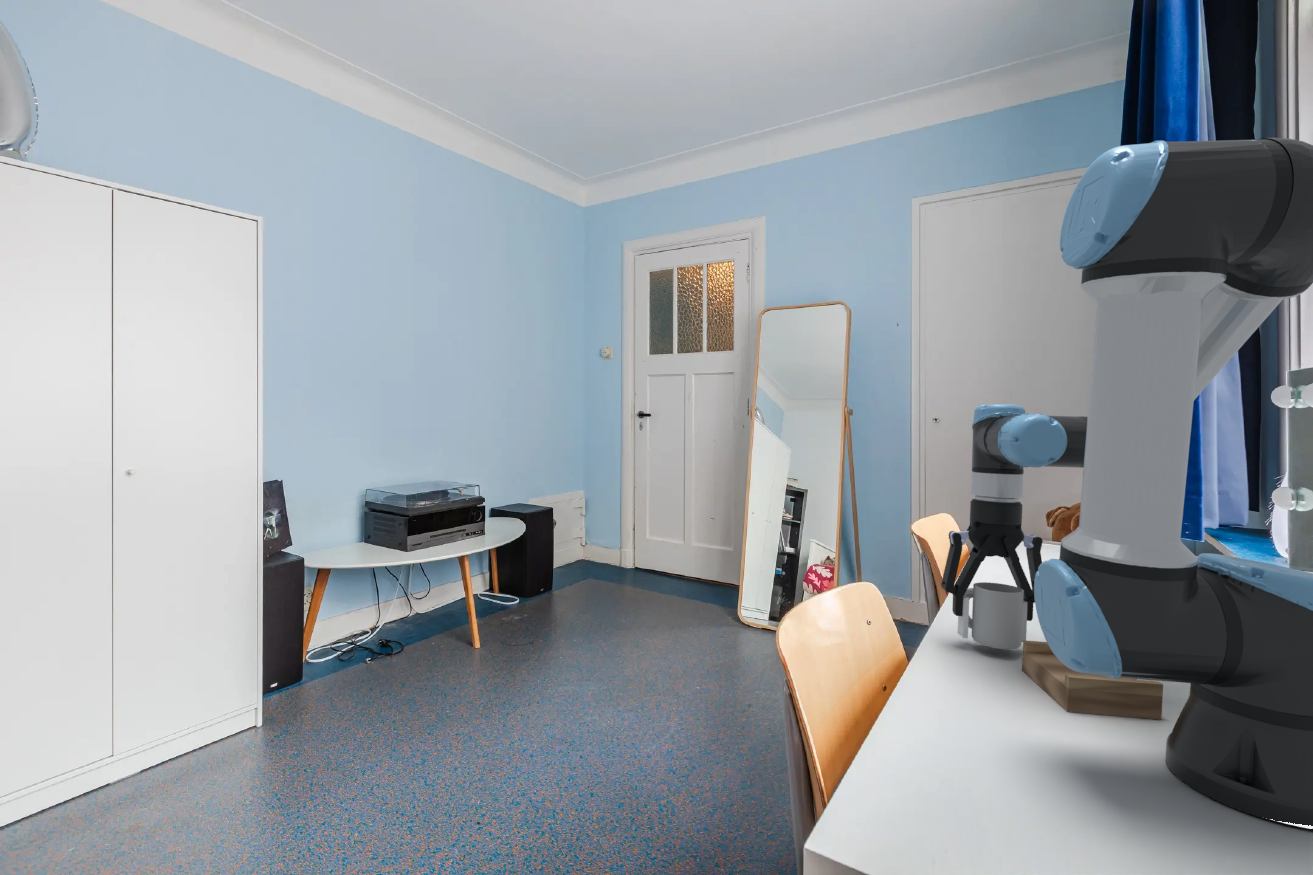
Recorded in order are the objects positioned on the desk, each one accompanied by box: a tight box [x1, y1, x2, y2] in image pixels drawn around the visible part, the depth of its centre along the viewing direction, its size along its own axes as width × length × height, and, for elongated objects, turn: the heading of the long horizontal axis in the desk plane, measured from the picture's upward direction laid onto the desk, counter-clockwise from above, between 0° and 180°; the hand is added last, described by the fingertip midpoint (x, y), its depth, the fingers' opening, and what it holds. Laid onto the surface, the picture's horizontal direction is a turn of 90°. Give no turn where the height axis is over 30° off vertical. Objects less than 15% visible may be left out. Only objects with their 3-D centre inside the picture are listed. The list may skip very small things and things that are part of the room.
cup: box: [965, 581, 1024, 650], centre depth 105 cm, size 7×10×9 cm
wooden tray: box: [1021, 640, 1164, 721], centre depth 89 cm, size 14×11×4 cm
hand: (991, 637), depth 105 cm, fingers closed on cup, 8 cm apart
